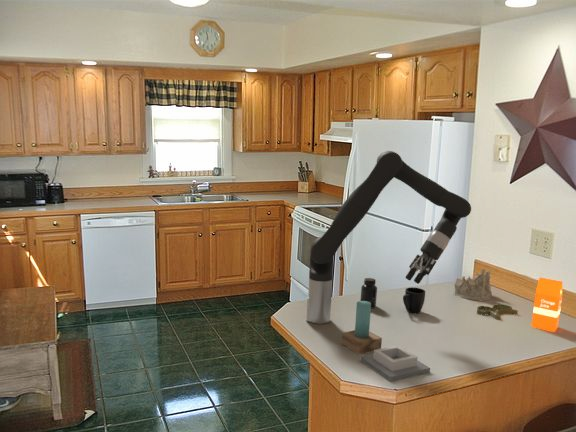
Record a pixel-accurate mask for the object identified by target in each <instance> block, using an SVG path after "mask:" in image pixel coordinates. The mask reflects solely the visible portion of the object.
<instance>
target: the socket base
mask: <svg viewBox="0 0 576 432" xmlns="http://www.w3.org/2000/svg"><path fill="white" fill-rule="evenodd" d="M418 358H419V357H418V356H416V355H415V354H413V353H411V352H409V351H408V350H406V349H404V348H403V347H402V346H399V345H393V346H388V347H383V348H382V347H381V349H377V350H373V353H371V354H366V355H362V356H360V361H359V362H362V363H363V364H365V365H366V366H368V367H369V368H371V369H372V370H373V371H374V372H376V373H378V374H379V375H381V376H382V377H383V378H385V379H386V380H387V381H389V382H394V381H398V380H403V379H407V378H411V377H415V376H419V375H424V374H428V373H431V368H430V367H429V366H428V365H426V364H424V363H423V362H421V361H419V360H418Z"/></svg>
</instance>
